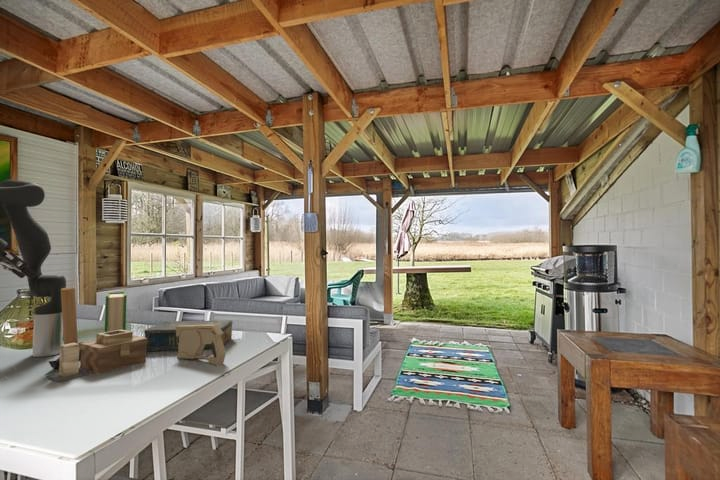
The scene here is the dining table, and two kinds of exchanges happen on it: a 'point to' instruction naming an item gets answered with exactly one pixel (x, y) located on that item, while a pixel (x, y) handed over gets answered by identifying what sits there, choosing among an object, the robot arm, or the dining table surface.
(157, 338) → the metal box
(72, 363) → the wooden block
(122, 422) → the dining table surface
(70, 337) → the hammer
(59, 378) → the rubber mat
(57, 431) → the dining table surface
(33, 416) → the dining table surface
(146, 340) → the stacked wooden tiers
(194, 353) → the gun
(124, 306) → the hardback book
